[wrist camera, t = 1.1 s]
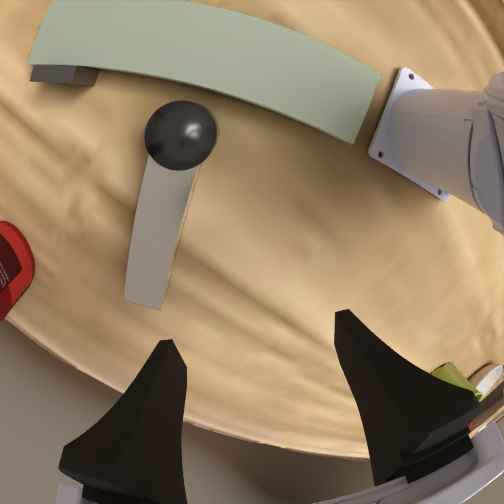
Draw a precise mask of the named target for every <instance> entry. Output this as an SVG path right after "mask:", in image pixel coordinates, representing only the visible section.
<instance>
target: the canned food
mask: <svg viewBox="0 0 504 504" xmlns="http://www.w3.org/2000/svg"><path fill="white" fill-rule="evenodd" d="M34 269H35V265H34V259H33V255H32V252H31V249H30V247H29V245H28V243H27V241H26V239H25V237H24V236H23V235H22V233H21V232H20V231H19V230H18V229H17V228H16V227H15V226H14V225H12V224H11V223H9V222H5V221H0V324H1V322H2V321H3V319H4V318H5V317H6V315H7V314H8V313H9V311H10V310H11V309H12V307H13V306H14V305H15V304H16V302H17V301H18V300H19V298H20V297H21V296H22V295H23V294H24V292H25V291H26V290H27V289H28V287H29V286H30V284H31V282H32V279H33V276H34Z"/></svg>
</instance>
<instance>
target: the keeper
mask: <svg viewBox="0 0 504 504" xmlns="http://www.w3.org/2000/svg"><path fill="white" fill-rule="evenodd" d="M98 72H99V70H95V69H90V68H86V67H81V66H73V65H34V68H33V71H32V74H31V78H30V81H32V82H54V83H67V84H79V85H90V86H94V84H95V81H96V78H97V75H98Z"/></svg>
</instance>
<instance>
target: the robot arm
mask: <svg viewBox="0 0 504 504" xmlns="http://www.w3.org/2000/svg"><path fill="white" fill-rule="evenodd" d="M409 74H410V75H411V79H410V78H409ZM379 152H381V153H382V155H381V157H378V153H379ZM368 154H369V156H370V157H372V158H374V159H376V160H377V161H379V162H381V163H383V164H385V165H386V166H388V167H390V168H392V169H393V170H395V171H397V172H398V173H400V174H402V175H403V176H405V177H407V178H408V179H410V180H411V181H413V182H415V183H416V184H418V185H419V186H421V187H422V188H424V189H426V190H427V191H429V192H430V193H432V194H433V195H435V196H436V197H437V198H439V199H440V200H442V201H444V202H446V201H448V199H449V197H450V195H453V196H455V197H457V198H459V199H460V200H462V201H464V202H466V203H467V204H469V205H471V206H472V207H474V208H476V209H477V210H479V211H481V212H482V213H484V214H486V215H487V216H488V217H489V218H490V219H491V221H492V224H493V228H494V229H495V230H496V231H498V232H499V233H501V234H502V235H503V236H504V72H502V73H499V74H497V75H495V76H493V77H492V78H491V79H490V81H489V83H488V85H487V86H486V87H485V89H484V90H483V92H478V91H467V90H451V89H434V88H433V87H432V86H431V85H429V84H428V83H427V82H426V81H424V80H423V79H422V78H421V77H419V76H418V75H417V74H415V73H414V72H413V71H411V70H410V69H409V68H407V67H401V68H400V69H399V71H398V74H397V77H396V80H395V83H394V85H393V88H392V91H391V93H390V96H389V99H388V101H387V104H386V106H385V109H384V112H383V114H382V117H381V119H380V122H379V124H378V127H377V129H376V131H375V134H374V136H373V139H372V141H371V143H370V146H369V148H368ZM438 190H439V192H438ZM334 345H335V348H336V352H337V355H338V359H339V362H340V365H341V367H342V370H343V372H344V374H345V377H346V379H347V382H348V384H349V386H350V389H351V391H352V394H353V396H354V398H355V401H356V404H357V406H358V409H359V413H360V416H361V420H362V424H363V428H364V432H365V436H366V441H367V445H368V450H369V455H370V460H371V466H372V472H373V480H374V485H375V487H373V488H371V489H367V490H365V491H361V492H358V493H354V494H351V495H347V496H344V497H340V498H337V499H332V500H328V501H323V502H319V503H314V504H371V503H374V502H376V501H378V502H377V503H376V504H461V503H463V502H464V501H466V500H467V499H469V498H470V497H471V496H473V495H474V494H476V493H477V492H478V491H480V490H481V489H482V488H483V487H485V486H486V485H488V484H489V483H490V482H491V481H493V480H494V479H495V478H496V477H498V476H499V475H500V474H501V473H503V472H504V440H503V438H502V436H501V434H500V432H499V430H498V428H497V426H496V424H495V423H492V424H491V425H490V426H488V427H487V428H485V429H484V430H482V431H481V432H479V433H478V434H477V435H475V436H474V437H472V438H471V439H470V437H469V435H468V434H470V432H471V431H470V429H469V426H468V425H469V424H470V423H471V422H472V421H473V420H474V419H475V418H476V417H477V416H478V414H479V413H480V412H481V409H482V407H481V405H480V403H479V401H478V399H477V397H476V396H475V394H474V393H473V391H471V390H468V389H465V388H462V387H459V386H456V385H453V384H451V383H448V382H446V381H444V380H441V379H439V378H437V377H435V376H433V375H431V374H429V373H428V372H426V371H424V370H422V369H420V368H419V367H417V366H415V365H414V364H412V363H411V362H409V361H408V360H406V359H405V358H403V357H402V356H400V355H399V354H398V353H396V352H395V351H394V350H393V349H391V348H390V347H389V346H388V345H386V344H385V343H384V342H383V341H382V340H381V339H379V338H378V337H377V336H376V335H375V334H374V333H373V332H372V331H371V330H370V329H368V328H367V327H366V326H365V325H364V324H363V323H362V322H361V321H360V320H359V319H358V318H357V317H356V316H355V315H354V314H353V313H352V312H351V311H350V310H349V309H347V310H342V311H338V312H335V334H334ZM186 390H187V366H186V365H185V363H184V361H183V359H182V357H181V355H180V353H179V352H178V350H177V348H176V346H175V344H174V342H173V340H172V339H170V340H160V341H159V343H158V344H157V346H156V347H155V349H154V350H153V352H152V353H151V355H150V356H149V358H148V360H147V361H146V363H145V364H144V366H143V367H142V369H141V370H140V372H139V373H138V375H137V376H136V378H135V379H134V381H133V382H132V383H131V385H130V386H129V387H128V389H127V390H126V392H125V393H124V394H123V395H122V397H121V398H120V399H119V400H118V401H117V402H116V404H115V405H114V406H113V407H112V408H111V409H110V410H109V411H108V412H107V413H106V414H105V415H104V416H103V417H102V418H101V419H100V420H99V421H98V422H97V423H96V424H94V425H93V426H92V427H91V428H90V429H88V430H87V431H86V432H85V433H83V434H82V435H81V436H79V437H78V438H76V439H75V440H73V441H72V442H70V443H68V444H67V445H65V446H64V448H63V452H62V455H61V459H60V463H59V470H60V471H61V472H62V473H64V474H65V475H67V476H69V477H70V478H72V479H74V480H76V481H78V482H80V483H81V484H83V485H84V486H83V489H81V488H79V487H76V486H73V485H71V484H67V483H65V482H62V481H60V482H59V487H58V492H57V497H56V503H55V504H187V499H186V493H185V486H184V478H183V468H182V450H181V449H182V448H181V433H182V422H183V414H184V406H185V398H186ZM379 500H380V501H379Z"/></svg>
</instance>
